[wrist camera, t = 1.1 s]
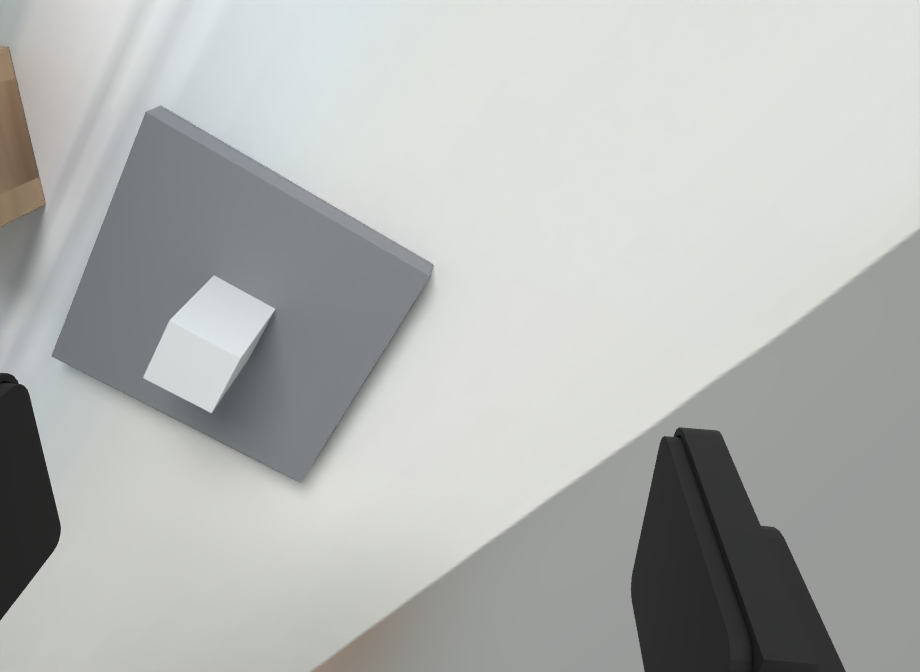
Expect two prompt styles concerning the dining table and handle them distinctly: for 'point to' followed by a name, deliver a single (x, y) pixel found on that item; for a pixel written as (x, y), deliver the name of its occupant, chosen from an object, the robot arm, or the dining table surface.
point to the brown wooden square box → (15, 151)
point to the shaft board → (257, 254)
